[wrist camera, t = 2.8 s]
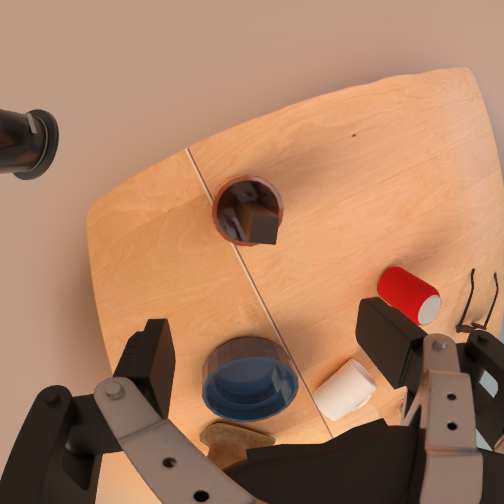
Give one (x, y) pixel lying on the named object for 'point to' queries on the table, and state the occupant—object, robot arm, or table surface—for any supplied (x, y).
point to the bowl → (248, 380)
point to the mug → (345, 390)
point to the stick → (256, 220)
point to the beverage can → (409, 295)
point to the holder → (242, 187)
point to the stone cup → (231, 443)
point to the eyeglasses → (465, 327)
